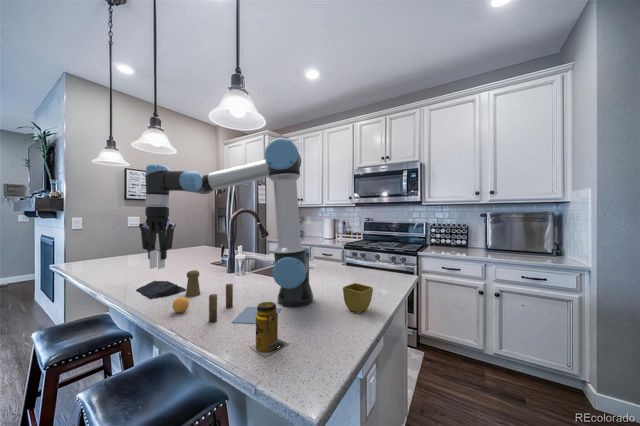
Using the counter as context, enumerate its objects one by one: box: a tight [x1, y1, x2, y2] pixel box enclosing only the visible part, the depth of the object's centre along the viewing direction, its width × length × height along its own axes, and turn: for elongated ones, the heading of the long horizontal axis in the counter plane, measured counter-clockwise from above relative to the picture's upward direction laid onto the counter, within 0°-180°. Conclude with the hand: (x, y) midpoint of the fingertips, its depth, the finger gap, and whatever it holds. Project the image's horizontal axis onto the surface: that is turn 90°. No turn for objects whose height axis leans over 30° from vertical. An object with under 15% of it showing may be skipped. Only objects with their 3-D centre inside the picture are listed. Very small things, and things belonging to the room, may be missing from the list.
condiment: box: [249, 301, 290, 358], centre depth 70 cm, size 7×8×12 cm
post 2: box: [225, 283, 234, 309], centre depth 98 cm, size 3×3×9 cm
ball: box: [171, 296, 190, 314], centre depth 93 cm, size 6×6×6 cm
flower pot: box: [342, 282, 374, 314], centre depth 96 cm, size 9×9×9 cm
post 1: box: [208, 293, 218, 324], centre depth 85 cm, size 3×3×9 cm
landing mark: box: [231, 306, 282, 325], centre depth 90 cm, size 14×14×1 cm
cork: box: [185, 269, 201, 298], centre depth 112 cm, size 6×6×11 cm
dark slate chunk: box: [135, 280, 187, 300], centre depth 117 cm, size 15×22×5 cm
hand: (157, 267), depth 93 cm, fingers open, 3 cm apart
